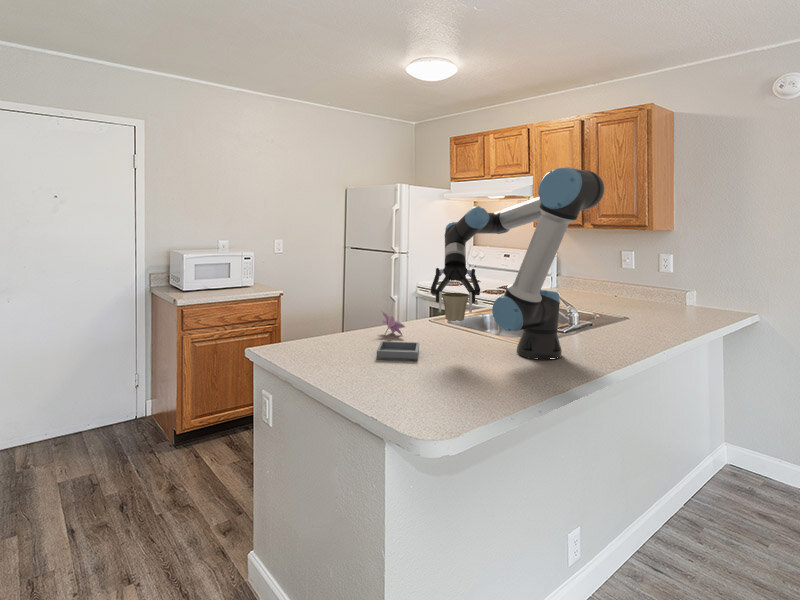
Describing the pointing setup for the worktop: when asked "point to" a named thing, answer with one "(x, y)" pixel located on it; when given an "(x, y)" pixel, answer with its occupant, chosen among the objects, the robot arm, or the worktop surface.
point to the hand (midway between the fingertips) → (455, 310)
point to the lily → (392, 324)
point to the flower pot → (455, 305)
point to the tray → (398, 351)
